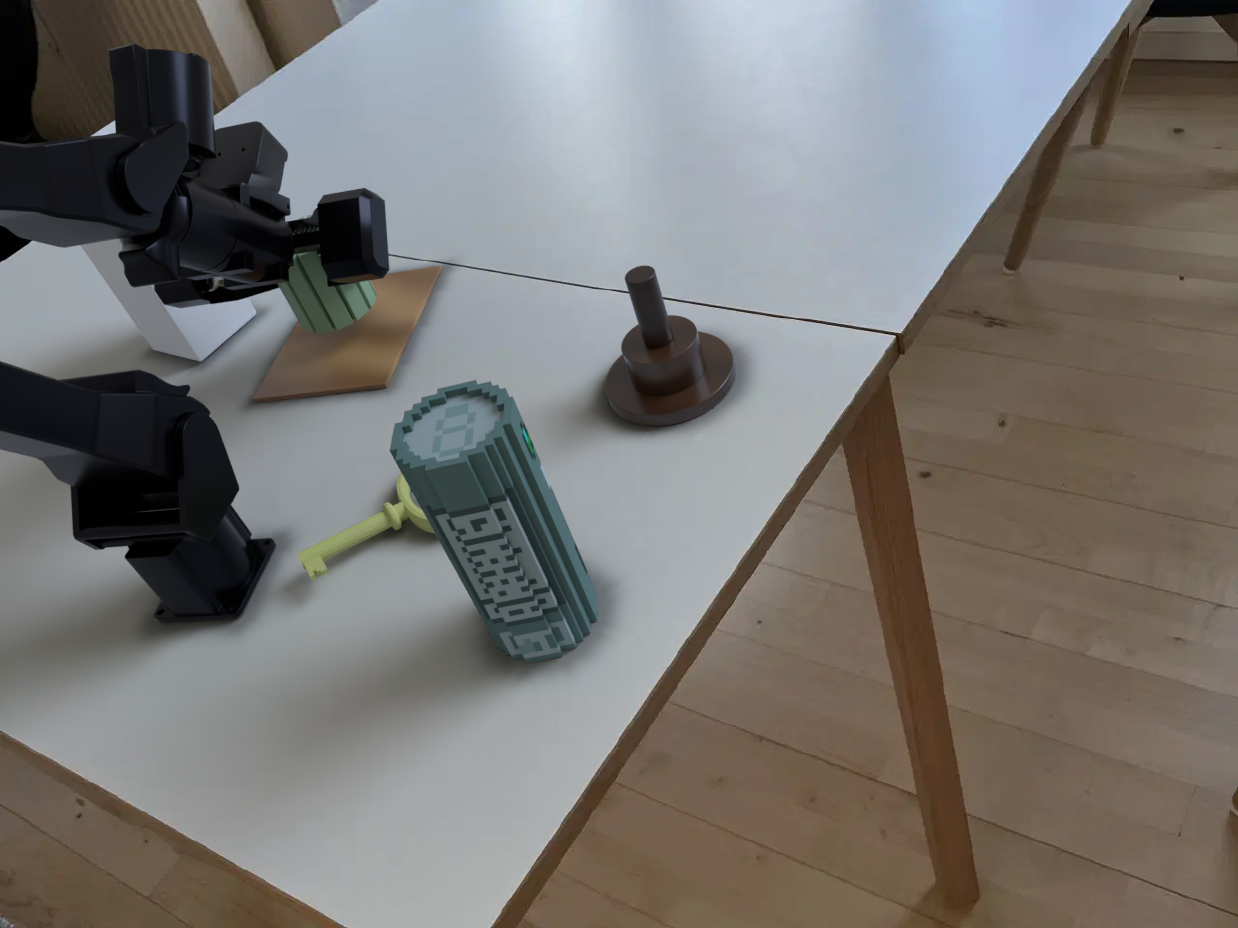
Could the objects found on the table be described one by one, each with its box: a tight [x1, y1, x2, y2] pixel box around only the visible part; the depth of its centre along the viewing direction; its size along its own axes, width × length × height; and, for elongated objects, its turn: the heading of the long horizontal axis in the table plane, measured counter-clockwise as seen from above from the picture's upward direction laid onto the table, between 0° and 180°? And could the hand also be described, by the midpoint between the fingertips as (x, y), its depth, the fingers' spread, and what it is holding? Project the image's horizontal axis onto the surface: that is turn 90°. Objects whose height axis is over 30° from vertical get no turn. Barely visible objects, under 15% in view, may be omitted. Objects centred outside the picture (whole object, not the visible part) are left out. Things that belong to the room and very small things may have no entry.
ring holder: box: [604, 265, 737, 427], centre depth 71 cm, size 9×9×9 cm
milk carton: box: [80, 120, 257, 362], centre depth 90 cm, size 7×7×19 cm
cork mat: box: [251, 265, 443, 404], centre depth 89 cm, size 16×12×1 cm
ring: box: [277, 214, 377, 334], centre depth 86 cm, size 7×7×7 cm
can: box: [389, 379, 598, 664], centre depth 56 cm, size 6×6×15 cm
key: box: [296, 472, 436, 582], centre depth 69 cm, size 7×12×2 cm, turn 139°
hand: (329, 271), depth 87 cm, fingers closed on ring, 6 cm apart
